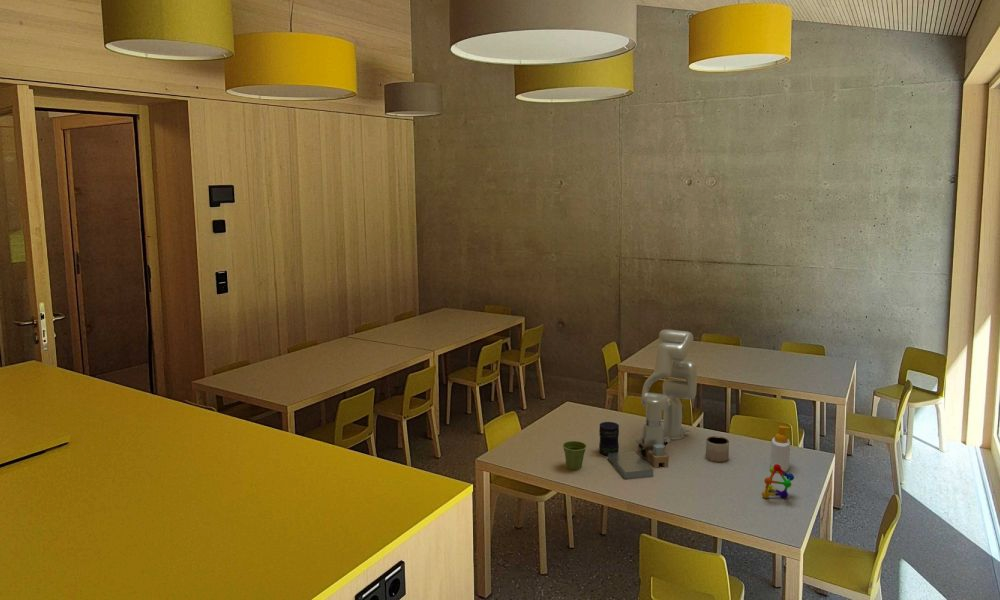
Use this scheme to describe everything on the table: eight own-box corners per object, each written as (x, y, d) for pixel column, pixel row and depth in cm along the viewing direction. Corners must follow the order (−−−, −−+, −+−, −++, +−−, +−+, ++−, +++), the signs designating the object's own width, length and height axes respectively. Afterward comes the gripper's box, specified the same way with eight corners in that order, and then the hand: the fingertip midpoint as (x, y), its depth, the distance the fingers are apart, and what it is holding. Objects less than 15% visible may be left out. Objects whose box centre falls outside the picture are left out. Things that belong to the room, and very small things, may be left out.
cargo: (660, 451, 338) (660, 444, 338) (664, 455, 334) (664, 447, 334) (653, 452, 338) (653, 444, 337) (656, 455, 334) (656, 448, 333)
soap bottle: (789, 473, 324) (791, 432, 320) (770, 471, 326) (772, 430, 323) (788, 462, 336) (790, 423, 332) (770, 460, 339) (772, 421, 335)
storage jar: (618, 457, 345) (618, 429, 343) (598, 456, 347) (598, 428, 345) (618, 449, 355) (619, 422, 352) (599, 448, 357) (599, 421, 354)
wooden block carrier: (637, 451, 354) (637, 440, 353) (650, 449, 355) (650, 439, 354) (654, 468, 333) (654, 457, 332) (668, 467, 334) (668, 456, 333)
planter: (729, 456, 345) (730, 437, 343) (727, 464, 335) (727, 445, 334) (707, 452, 350) (708, 434, 348) (704, 460, 340) (704, 442, 338)
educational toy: (794, 506, 294) (796, 475, 290) (761, 502, 298) (763, 471, 294) (792, 488, 308) (794, 457, 304) (761, 484, 312) (762, 454, 308)
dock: (634, 456, 346) (634, 450, 346) (653, 476, 323) (653, 470, 323) (607, 458, 344) (607, 452, 343) (624, 479, 321) (624, 472, 320)
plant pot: (571, 474, 327) (571, 451, 325) (557, 465, 337) (557, 443, 335) (591, 469, 332) (591, 447, 330) (577, 460, 343) (577, 439, 341)
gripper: (666, 418, 346) (665, 451, 349) (634, 421, 343) (633, 453, 346) (673, 423, 338) (672, 456, 341) (639, 426, 335) (639, 459, 338)
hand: (652, 455), depth 344 cm, fingers open, 9 cm apart
